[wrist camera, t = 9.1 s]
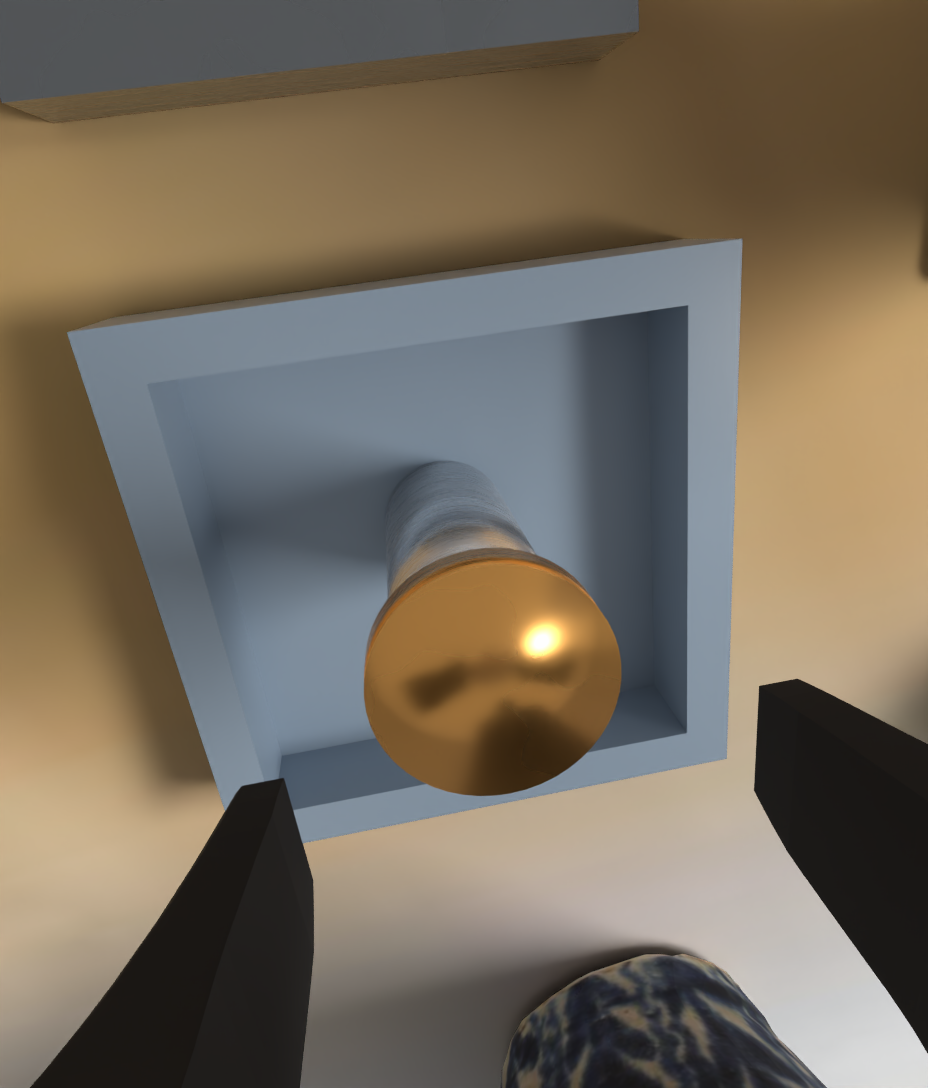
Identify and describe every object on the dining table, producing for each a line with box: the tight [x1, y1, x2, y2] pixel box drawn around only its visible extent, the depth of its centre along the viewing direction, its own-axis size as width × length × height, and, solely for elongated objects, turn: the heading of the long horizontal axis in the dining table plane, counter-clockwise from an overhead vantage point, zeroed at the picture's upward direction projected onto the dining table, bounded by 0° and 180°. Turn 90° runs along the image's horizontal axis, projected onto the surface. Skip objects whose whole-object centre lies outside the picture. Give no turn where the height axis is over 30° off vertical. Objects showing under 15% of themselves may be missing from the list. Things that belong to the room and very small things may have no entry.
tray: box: [67, 239, 742, 843], centre depth 19 cm, size 14×14×3 cm
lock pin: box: [364, 461, 621, 796], centre depth 15 cm, size 4×4×9 cm
